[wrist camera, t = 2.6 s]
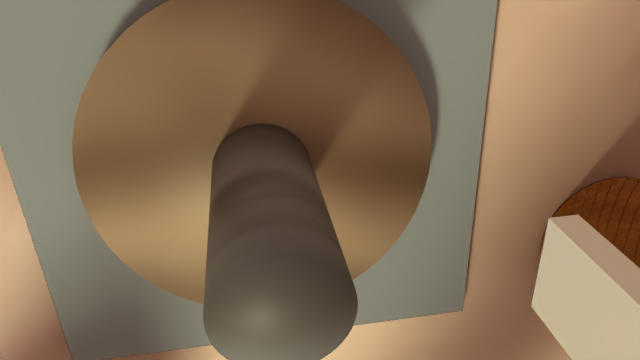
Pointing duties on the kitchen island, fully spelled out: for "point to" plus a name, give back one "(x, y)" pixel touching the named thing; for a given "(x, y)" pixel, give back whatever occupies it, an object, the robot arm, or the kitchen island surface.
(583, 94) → the kitchen island surface
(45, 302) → the kitchen island surface
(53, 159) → the slate mat
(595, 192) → the disposable coffee cup
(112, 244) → the wooden lid with knob
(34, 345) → the kitchen island surface
